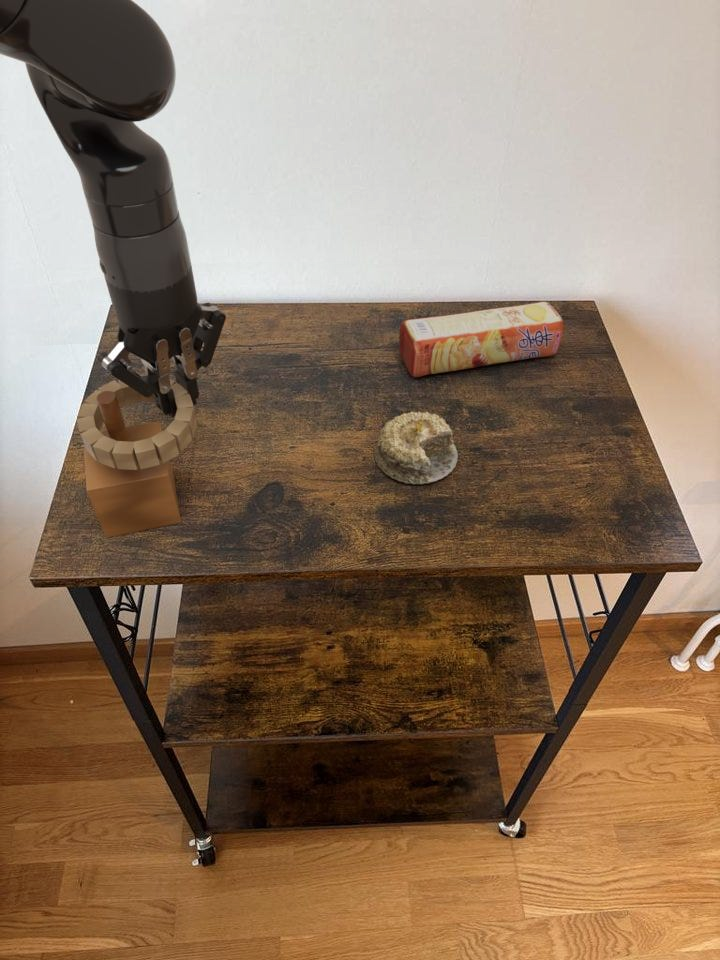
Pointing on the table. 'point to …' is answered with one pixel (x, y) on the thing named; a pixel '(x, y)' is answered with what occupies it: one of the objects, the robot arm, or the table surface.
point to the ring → (142, 450)
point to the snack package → (479, 338)
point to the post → (130, 481)
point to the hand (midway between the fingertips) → (179, 406)
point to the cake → (416, 448)
